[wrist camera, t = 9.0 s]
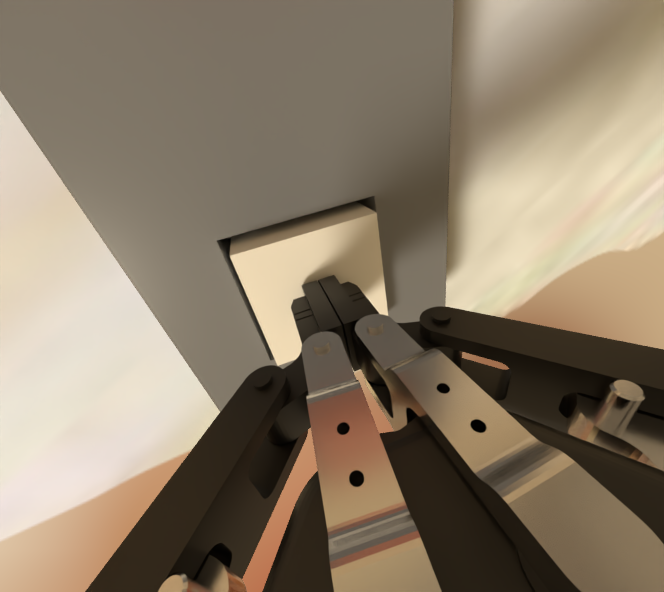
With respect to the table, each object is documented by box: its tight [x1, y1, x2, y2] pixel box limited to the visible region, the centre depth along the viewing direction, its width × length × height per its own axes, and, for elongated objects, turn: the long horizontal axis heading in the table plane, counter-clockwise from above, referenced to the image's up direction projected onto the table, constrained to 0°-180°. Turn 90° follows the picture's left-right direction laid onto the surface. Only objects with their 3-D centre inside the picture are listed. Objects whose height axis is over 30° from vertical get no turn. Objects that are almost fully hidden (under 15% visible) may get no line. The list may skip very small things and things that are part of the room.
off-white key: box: [230, 201, 388, 366], centre depth 14 cm, size 6×6×4 cm
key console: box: [0, 0, 454, 412], centre depth 11 cm, size 14×26×4 cm, turn 11°
